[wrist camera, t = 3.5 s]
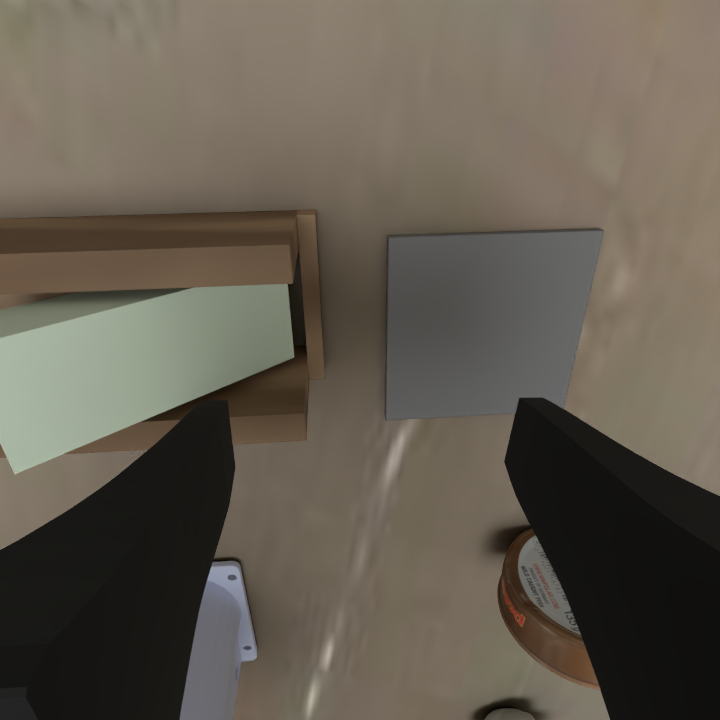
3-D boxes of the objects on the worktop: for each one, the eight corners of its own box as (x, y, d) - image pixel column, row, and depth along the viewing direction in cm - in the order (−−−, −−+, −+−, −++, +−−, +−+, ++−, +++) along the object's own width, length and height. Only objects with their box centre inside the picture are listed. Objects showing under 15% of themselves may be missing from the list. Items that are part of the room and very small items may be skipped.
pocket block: (324, 368, 22) (325, 439, 17) (33, 382, 21) (-51, 460, 16) (315, 209, 19) (313, 243, 14) (-32, 219, 18) (-162, 259, 13)
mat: (559, 406, 24) (562, 410, 24) (385, 415, 23) (386, 420, 23) (599, 228, 20) (604, 230, 19) (387, 235, 19) (388, 237, 19)
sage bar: (261, 340, 21) (294, 357, 19) (-3, 437, 15) (14, 474, 13) (250, 251, 19) (285, 263, 18) (-58, 322, 13) (-45, 349, 11)
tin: (478, 556, 29) (532, 708, 22) (483, 519, 28) (543, 669, 20) (708, 539, 30) (835, 679, 23) (725, 503, 28) (868, 641, 21)
